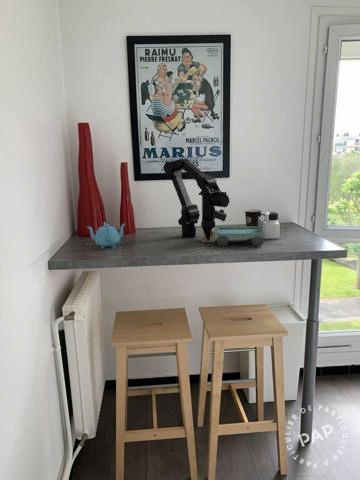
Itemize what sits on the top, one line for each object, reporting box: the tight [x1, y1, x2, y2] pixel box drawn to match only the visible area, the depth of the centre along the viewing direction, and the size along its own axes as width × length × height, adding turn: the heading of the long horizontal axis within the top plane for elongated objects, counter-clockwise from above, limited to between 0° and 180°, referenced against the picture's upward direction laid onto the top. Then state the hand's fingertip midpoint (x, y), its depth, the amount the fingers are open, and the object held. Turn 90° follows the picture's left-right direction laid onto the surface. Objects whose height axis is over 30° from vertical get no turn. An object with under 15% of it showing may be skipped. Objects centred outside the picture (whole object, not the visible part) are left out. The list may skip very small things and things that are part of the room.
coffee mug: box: [244, 208, 265, 227], centre depth 189 cm, size 12×9×10 cm
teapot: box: [87, 221, 126, 249], centre depth 163 cm, size 13×13×10 cm
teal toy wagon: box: [216, 216, 264, 248], centre depth 163 cm, size 20×14×11 cm
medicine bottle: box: [263, 211, 281, 240], centre depth 172 cm, size 7×7×12 cm
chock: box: [201, 228, 216, 243], centre depth 169 cm, size 6×5×5 cm
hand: (208, 238), depth 169 cm, fingers closed on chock, 5 cm apart
